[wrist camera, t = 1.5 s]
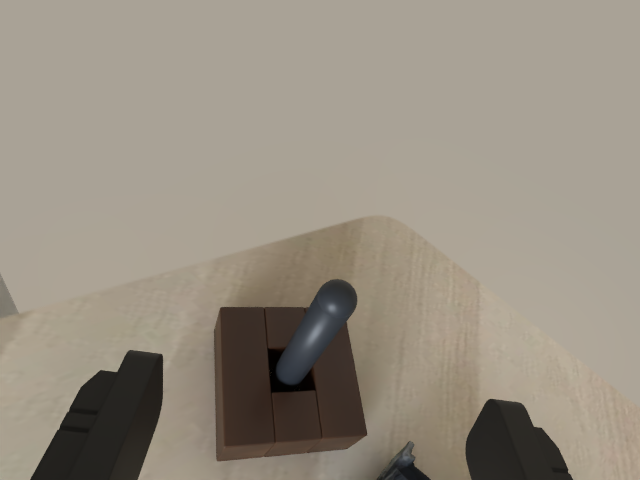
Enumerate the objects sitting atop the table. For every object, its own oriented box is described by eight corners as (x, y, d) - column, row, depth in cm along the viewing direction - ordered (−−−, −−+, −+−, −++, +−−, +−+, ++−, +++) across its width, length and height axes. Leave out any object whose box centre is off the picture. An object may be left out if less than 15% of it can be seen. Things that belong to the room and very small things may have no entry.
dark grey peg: (265, 403, 30) (326, 308, 20) (263, 374, 31) (320, 271, 21) (293, 401, 30) (366, 308, 20) (290, 373, 31) (358, 272, 21)
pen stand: (216, 461, 27) (223, 447, 24) (213, 330, 31) (220, 306, 29) (347, 449, 30) (368, 435, 27) (328, 329, 34) (344, 306, 31)
